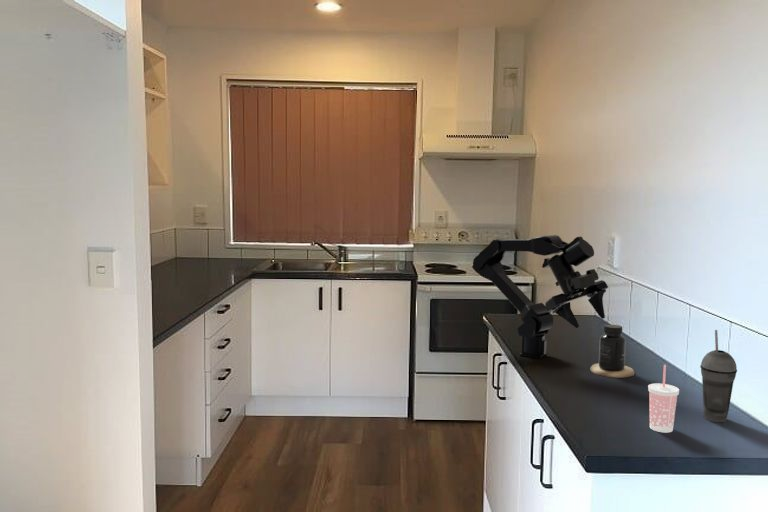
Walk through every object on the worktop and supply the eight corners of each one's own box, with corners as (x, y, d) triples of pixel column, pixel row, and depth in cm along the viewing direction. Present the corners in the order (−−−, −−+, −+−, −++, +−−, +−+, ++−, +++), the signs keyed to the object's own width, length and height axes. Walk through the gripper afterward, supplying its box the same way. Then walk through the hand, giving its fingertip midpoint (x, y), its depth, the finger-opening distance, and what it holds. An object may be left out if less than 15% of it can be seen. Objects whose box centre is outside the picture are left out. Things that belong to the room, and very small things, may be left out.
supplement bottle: (628, 371, 173) (630, 328, 172) (604, 372, 173) (606, 329, 172) (618, 364, 180) (619, 323, 179) (594, 365, 180) (596, 323, 178)
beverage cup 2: (719, 427, 137) (726, 336, 134) (689, 416, 143) (695, 329, 141) (740, 421, 140) (747, 332, 138) (710, 410, 146) (716, 326, 144)
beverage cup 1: (666, 422, 139) (670, 360, 137) (682, 433, 133) (687, 368, 131) (640, 423, 138) (643, 361, 137) (655, 434, 132) (659, 369, 131)
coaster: (586, 373, 174) (586, 370, 174) (594, 363, 184) (594, 360, 184) (631, 380, 169) (631, 377, 169) (637, 369, 179) (637, 366, 179)
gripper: (552, 270, 172) (579, 322, 167) (604, 254, 179) (632, 303, 174) (533, 286, 182) (559, 336, 177) (584, 270, 189) (610, 317, 183)
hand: (590, 322), depth 177 cm, fingers open, 9 cm apart
